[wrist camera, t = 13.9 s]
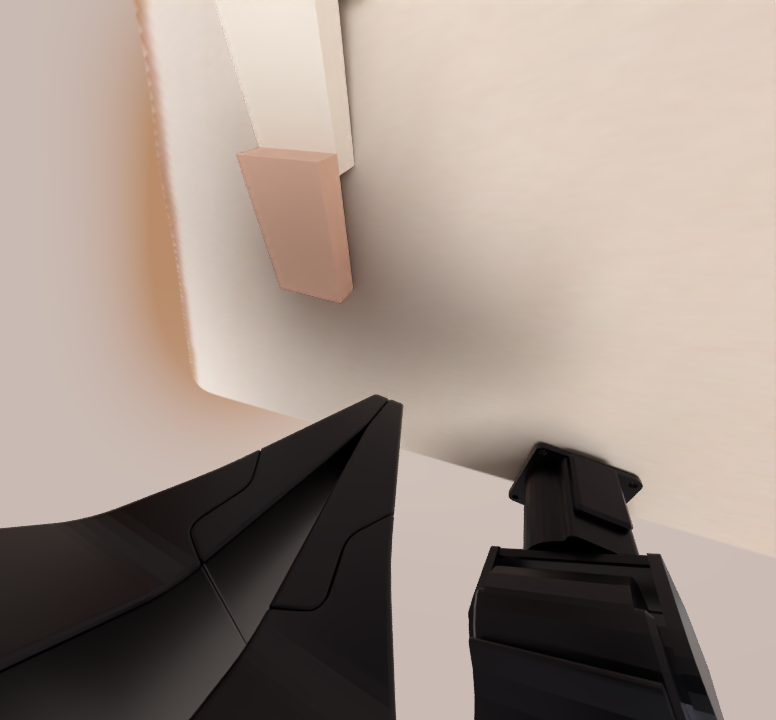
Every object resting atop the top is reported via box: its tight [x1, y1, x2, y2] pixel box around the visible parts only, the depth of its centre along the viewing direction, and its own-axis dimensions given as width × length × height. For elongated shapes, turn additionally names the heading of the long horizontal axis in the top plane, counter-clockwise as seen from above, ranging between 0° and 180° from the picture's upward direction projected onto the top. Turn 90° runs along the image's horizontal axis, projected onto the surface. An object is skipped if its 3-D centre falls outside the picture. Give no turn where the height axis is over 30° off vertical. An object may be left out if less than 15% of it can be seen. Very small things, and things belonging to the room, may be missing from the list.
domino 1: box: [214, 0, 355, 176], centre depth 14 cm, size 2×5×8 cm
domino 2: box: [236, 147, 353, 303], centre depth 18 cm, size 2×5×8 cm
